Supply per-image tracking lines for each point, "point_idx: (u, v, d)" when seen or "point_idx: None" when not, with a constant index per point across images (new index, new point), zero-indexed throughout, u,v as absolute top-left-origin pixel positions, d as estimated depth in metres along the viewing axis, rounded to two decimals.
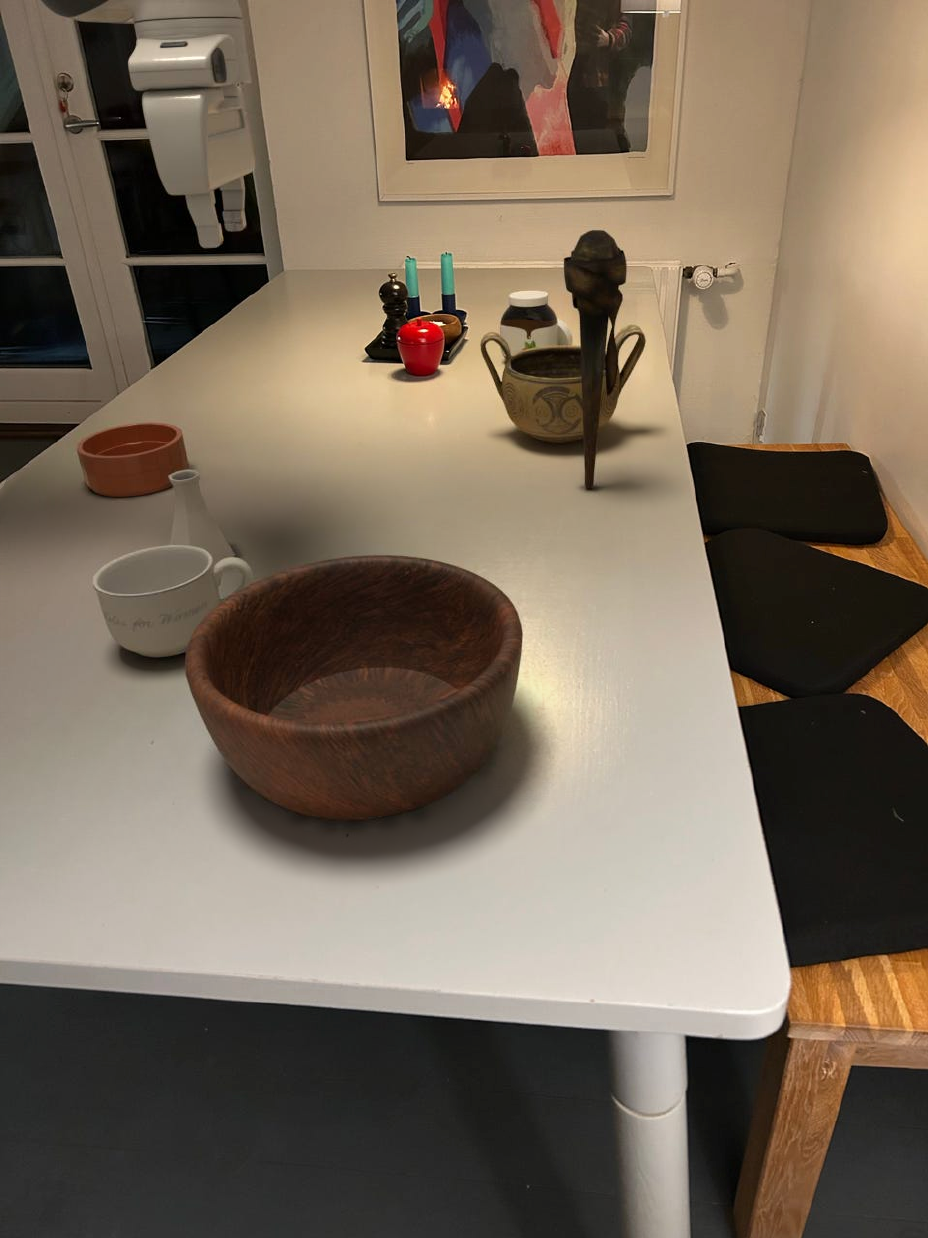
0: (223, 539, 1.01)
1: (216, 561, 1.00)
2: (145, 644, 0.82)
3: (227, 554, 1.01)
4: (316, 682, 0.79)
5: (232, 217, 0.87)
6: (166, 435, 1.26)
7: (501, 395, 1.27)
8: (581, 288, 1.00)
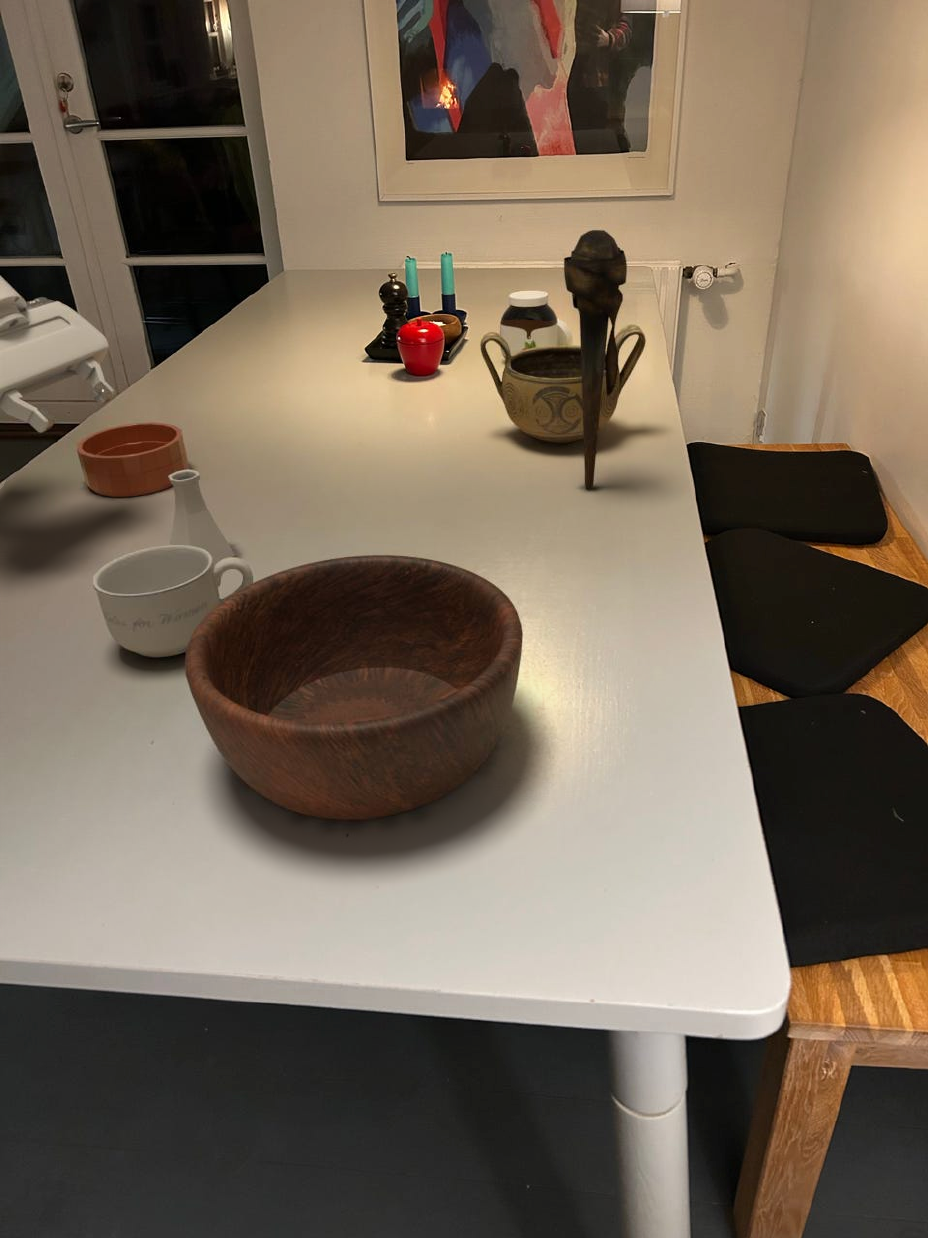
0: (223, 539, 1.01)
1: (216, 561, 1.00)
2: (145, 644, 0.82)
3: (227, 554, 1.01)
4: (316, 682, 0.79)
5: (97, 392, 1.02)
6: (166, 435, 1.26)
7: (501, 395, 1.27)
8: (581, 288, 1.00)
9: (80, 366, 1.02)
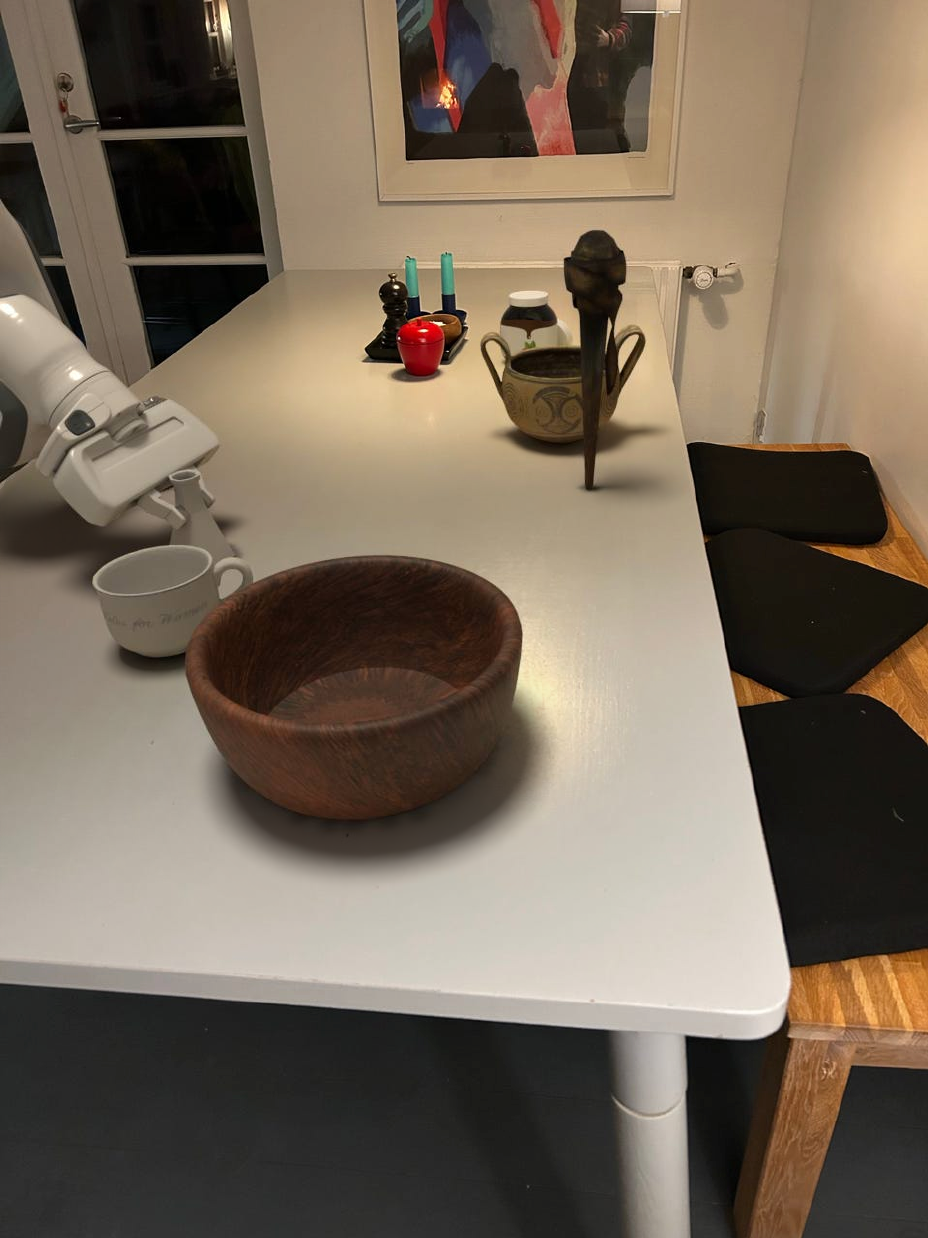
0: (223, 539, 1.01)
1: (216, 561, 1.00)
2: (145, 644, 0.82)
3: (227, 554, 1.01)
4: (316, 682, 0.79)
5: None
6: None
7: (501, 395, 1.27)
8: (581, 288, 1.00)
9: None
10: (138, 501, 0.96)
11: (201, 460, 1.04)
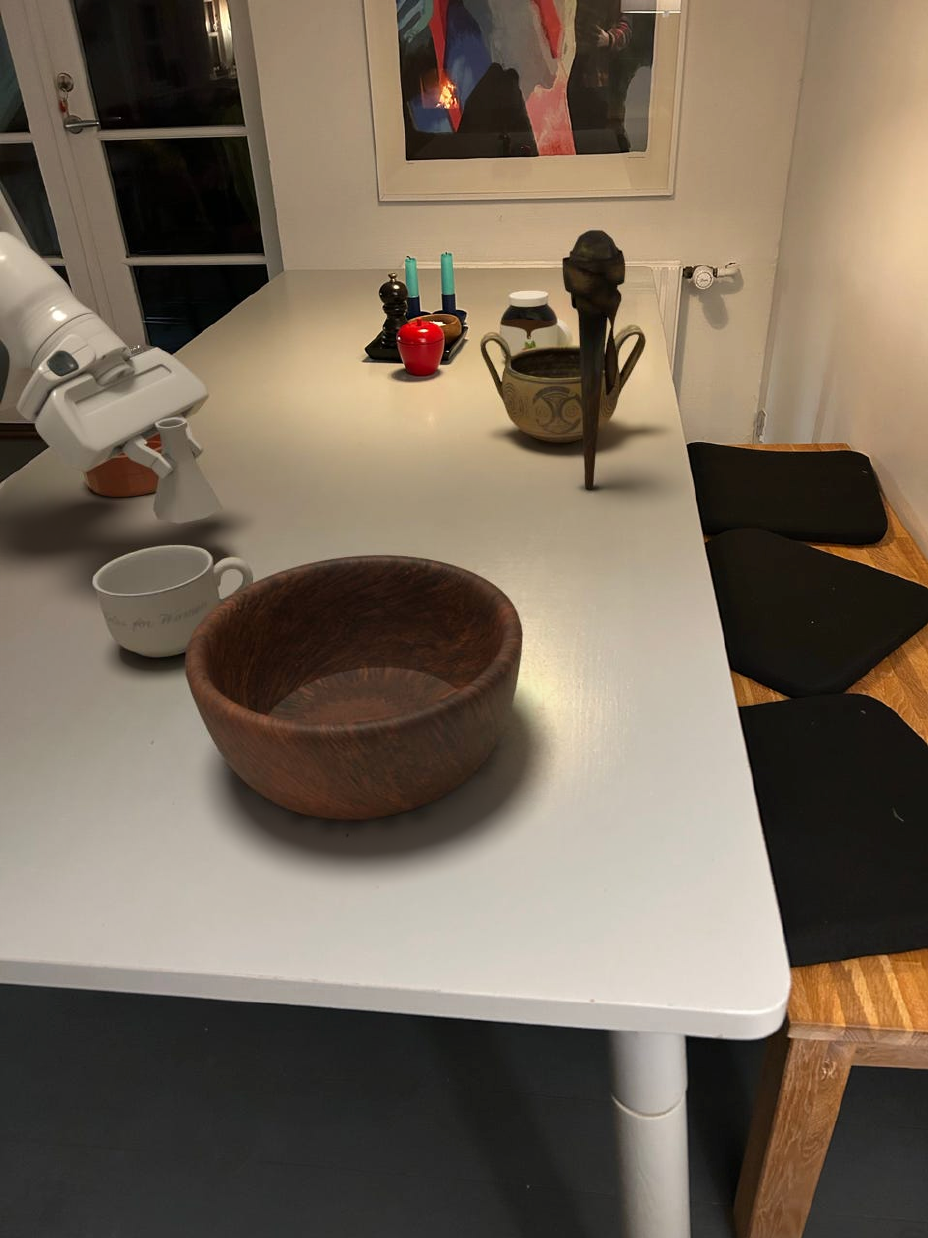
0: (211, 490, 0.98)
1: (203, 513, 0.97)
2: (145, 644, 0.82)
3: (215, 506, 0.98)
4: (316, 682, 0.79)
5: None
6: None
7: (501, 395, 1.27)
8: (580, 288, 1.00)
9: None
10: (123, 448, 0.93)
11: (189, 410, 1.01)
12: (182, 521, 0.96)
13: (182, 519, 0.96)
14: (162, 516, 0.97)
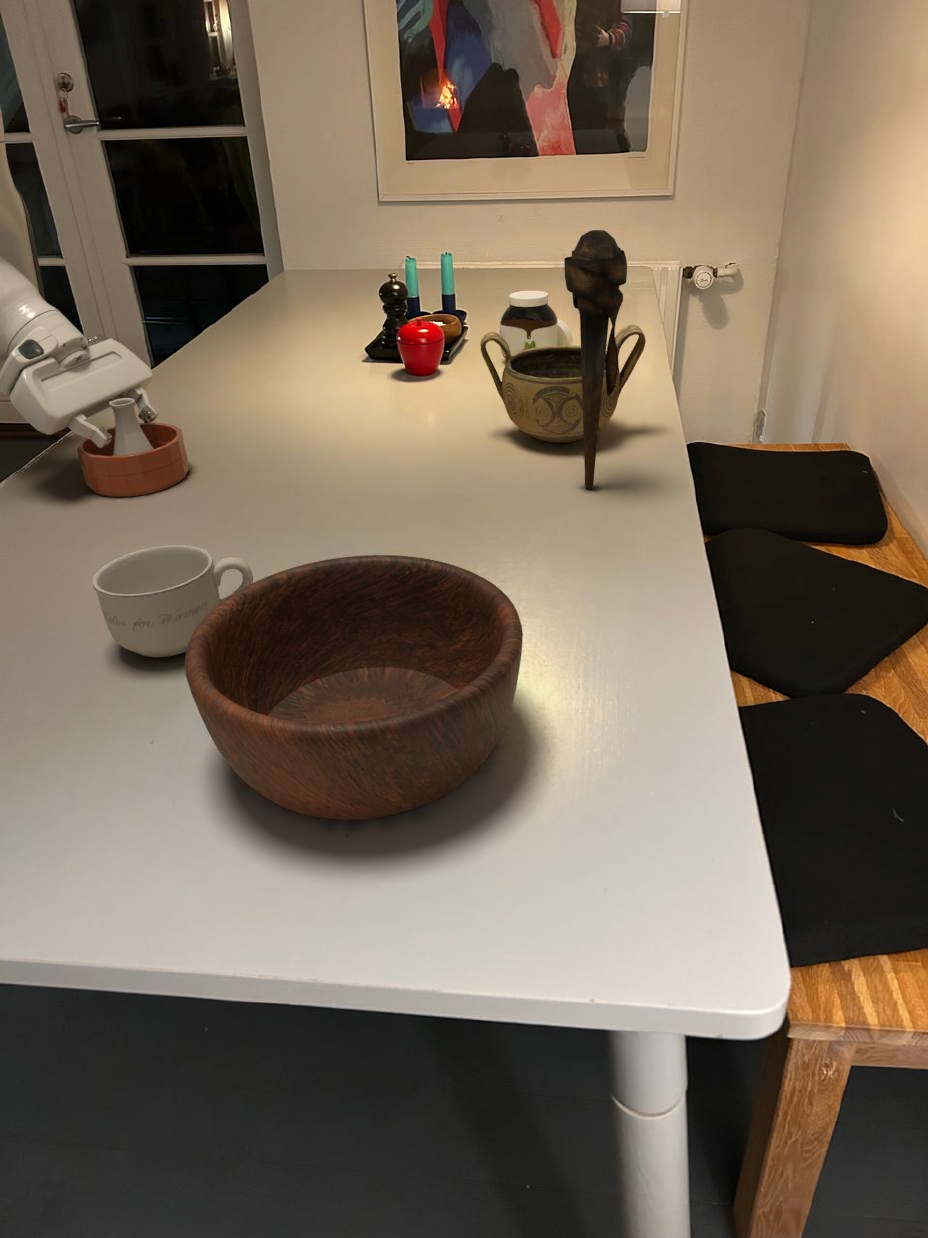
0: None
1: None
2: (145, 644, 0.82)
3: None
4: (316, 682, 0.79)
5: (143, 414, 1.24)
6: (166, 435, 1.26)
7: (501, 395, 1.27)
8: (582, 288, 1.00)
9: (130, 392, 1.24)
10: None
11: None
12: None
13: None
14: None
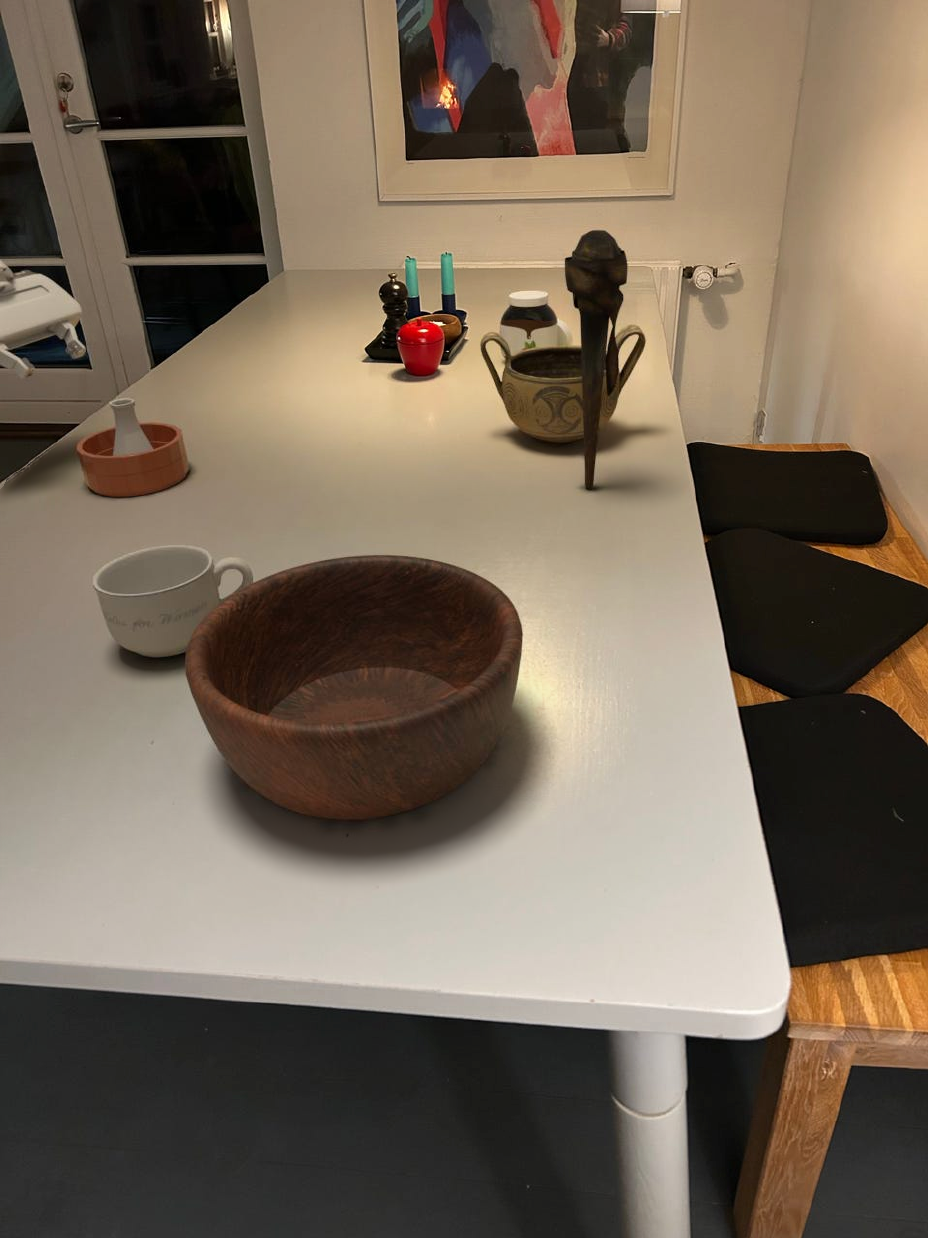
0: None
1: None
2: (145, 644, 0.82)
3: None
4: (316, 682, 0.79)
5: (71, 348, 1.22)
6: (166, 435, 1.26)
7: (501, 395, 1.27)
8: (582, 288, 1.00)
9: (57, 327, 1.23)
10: None
11: None
12: None
13: None
14: None
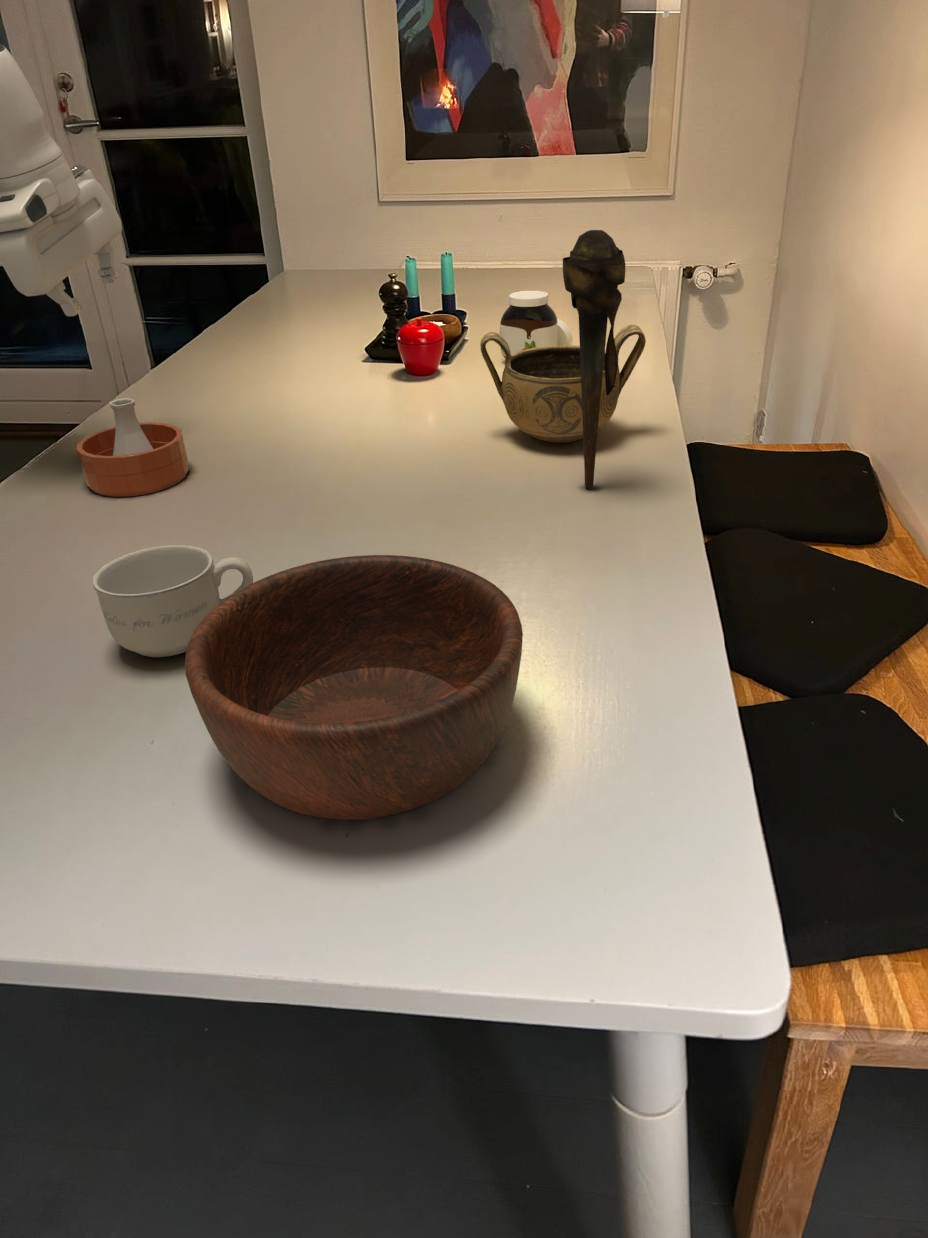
0: None
1: None
2: (145, 644, 0.82)
3: None
4: (316, 682, 0.79)
5: (105, 273, 1.23)
6: (166, 435, 1.26)
7: (501, 395, 1.27)
8: (580, 288, 1.00)
9: None
10: None
11: None
12: None
13: None
14: None
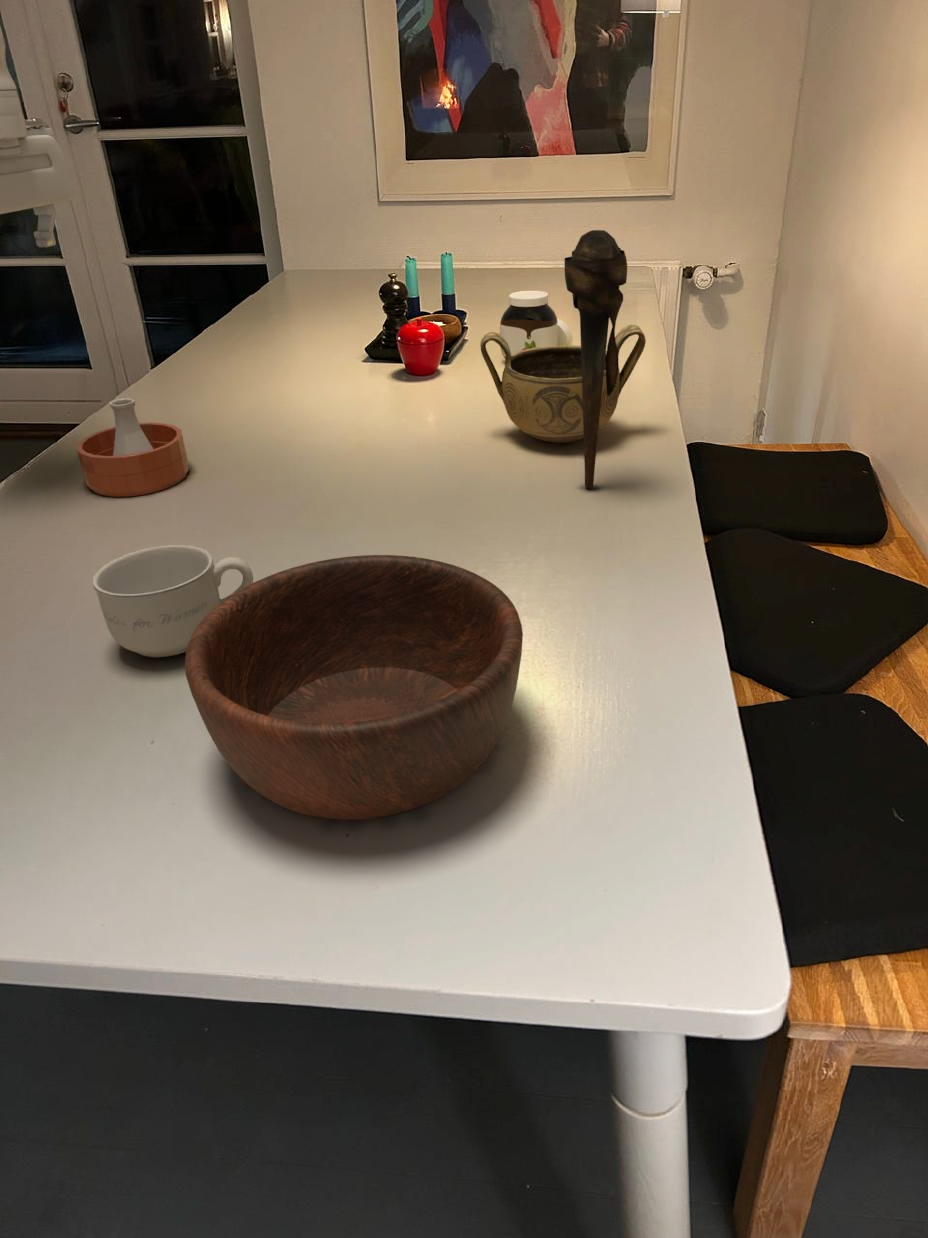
0: None
1: None
2: (145, 644, 0.82)
3: None
4: (316, 682, 0.79)
5: (40, 236, 1.12)
6: (166, 435, 1.26)
7: (501, 395, 1.27)
8: (582, 288, 1.00)
9: None
10: None
11: None
12: None
13: None
14: None
